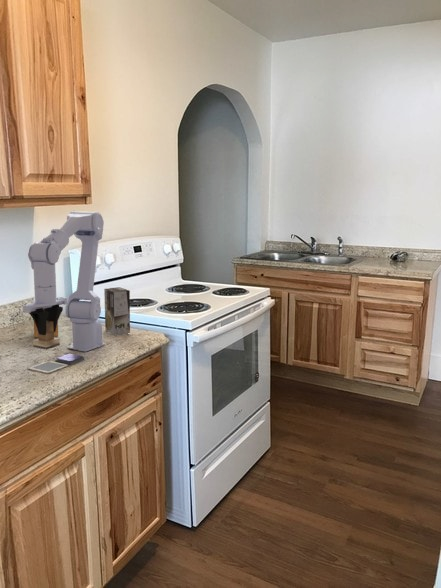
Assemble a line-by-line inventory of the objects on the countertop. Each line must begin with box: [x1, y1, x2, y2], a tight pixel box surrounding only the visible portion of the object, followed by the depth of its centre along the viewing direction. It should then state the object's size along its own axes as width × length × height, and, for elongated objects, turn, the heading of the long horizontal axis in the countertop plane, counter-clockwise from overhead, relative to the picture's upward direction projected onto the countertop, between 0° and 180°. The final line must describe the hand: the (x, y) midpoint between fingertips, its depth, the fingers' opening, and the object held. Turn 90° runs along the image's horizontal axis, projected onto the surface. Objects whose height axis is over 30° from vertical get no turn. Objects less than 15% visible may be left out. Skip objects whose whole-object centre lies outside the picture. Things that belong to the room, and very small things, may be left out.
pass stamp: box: [32, 321, 61, 350], centre depth 141 cm, size 5×5×7 cm
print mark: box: [27, 360, 70, 375], centre depth 142 cm, size 8×8×1 cm
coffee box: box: [103, 286, 131, 337], centre depth 181 cm, size 9×6×16 cm
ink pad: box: [54, 353, 86, 366], centre depth 148 cm, size 6×6×1 cm
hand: (47, 333), depth 141 cm, fingers closed on pass stamp, 3 cm apart
